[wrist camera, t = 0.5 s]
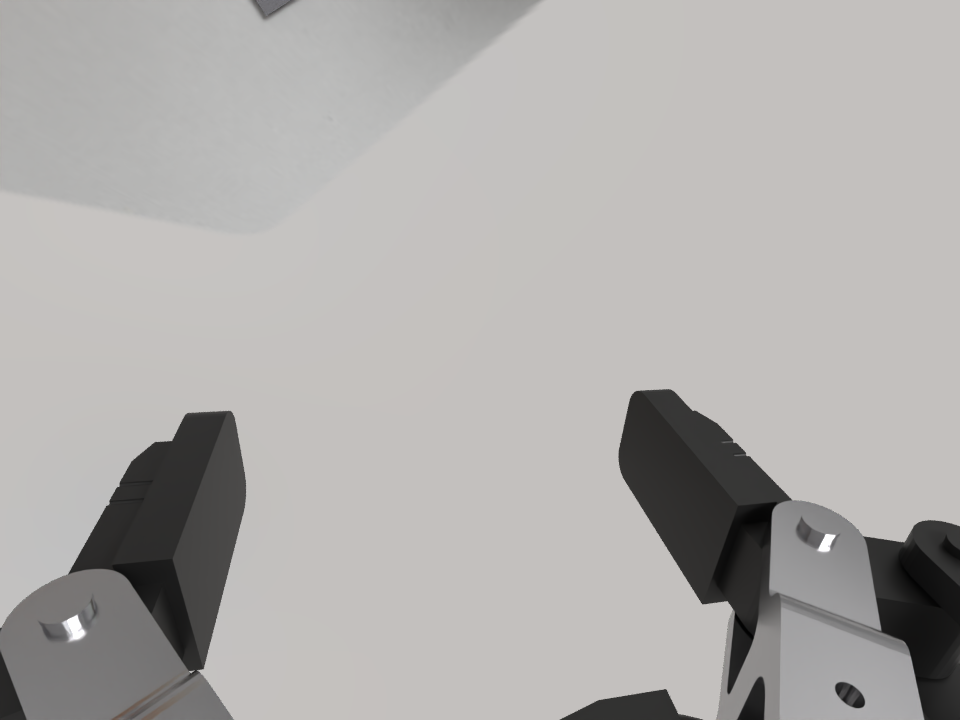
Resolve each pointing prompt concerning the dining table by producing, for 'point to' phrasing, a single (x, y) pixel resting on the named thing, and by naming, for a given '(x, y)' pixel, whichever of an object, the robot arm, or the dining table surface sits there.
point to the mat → (271, 5)
